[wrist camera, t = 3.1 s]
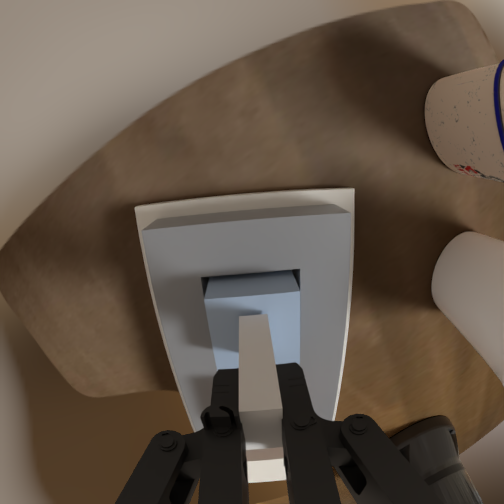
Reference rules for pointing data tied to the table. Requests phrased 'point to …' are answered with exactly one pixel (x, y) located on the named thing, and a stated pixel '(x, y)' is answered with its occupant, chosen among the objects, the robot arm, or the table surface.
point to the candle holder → (474, 293)
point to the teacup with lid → (469, 121)
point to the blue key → (253, 313)
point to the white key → (265, 465)
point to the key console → (245, 262)
